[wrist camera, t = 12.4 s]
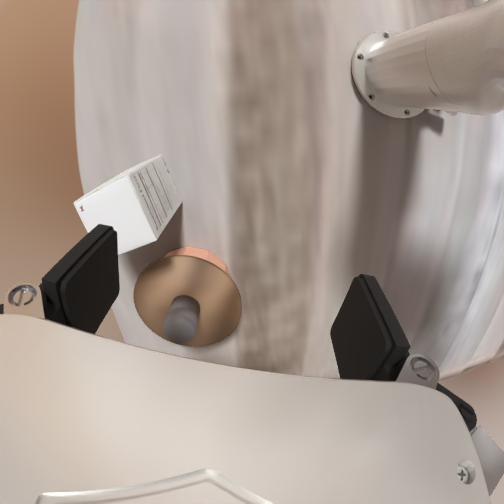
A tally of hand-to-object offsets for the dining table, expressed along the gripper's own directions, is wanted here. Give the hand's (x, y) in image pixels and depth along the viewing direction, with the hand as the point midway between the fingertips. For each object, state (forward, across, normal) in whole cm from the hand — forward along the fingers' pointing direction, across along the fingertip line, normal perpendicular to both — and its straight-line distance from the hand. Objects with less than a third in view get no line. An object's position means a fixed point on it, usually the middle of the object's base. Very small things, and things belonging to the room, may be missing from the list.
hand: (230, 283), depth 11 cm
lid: (+22, +5, +20) cm, 30 cm away
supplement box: (+28, +13, +7) cm, 32 cm away
